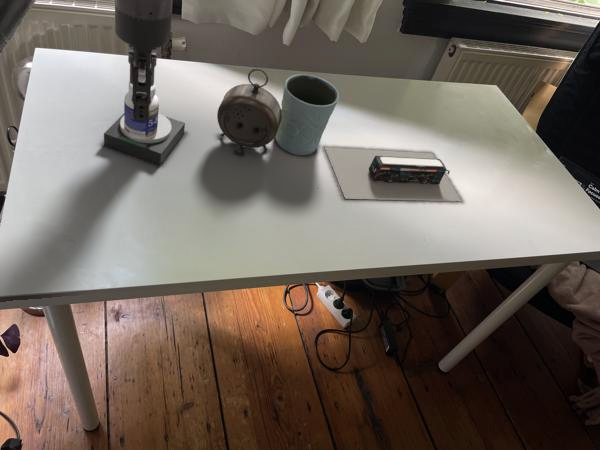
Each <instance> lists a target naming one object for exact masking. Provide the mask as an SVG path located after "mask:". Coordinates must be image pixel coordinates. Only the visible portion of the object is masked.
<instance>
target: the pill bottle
mask: <svg viewBox="0 0 600 450" xmlns="http://www.w3.org/2000/svg"><path fill="white" fill-rule="evenodd" d="M138 79H139V78H138ZM145 80H146V78H145ZM156 88H157V86H156V83H155V82H154V85H153V86H151V92H150V97H151V103H150V106H149V119H148V121H147V122H143V121H135V120H134V104H133V101H132V95H133V85H132V84H131V83H130V80H129V81H128V92H126V93H125V95H124V98H123V99H124V100H123V103H124V106H123V108H124V111H123V114H124V129H125V132H126V133H127V134H128V135H129V136H130V137H132V138H135V139H141V140H145V139H150V138H152V137H154V136H155V135H156V133H157V128H158V113H159V109H160V100H159V97H158V96H157V95H156V93H157V91H156ZM136 93H143V94H147V93H145V92H136Z"/></svg>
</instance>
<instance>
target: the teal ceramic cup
mask: <svg viewBox="0 0 600 450" xmlns="http://www.w3.org/2000/svg"><path fill="white" fill-rule="evenodd" d="M339 99H340V93H339V91H338V90H337V88H336V87H335V86H334V85H333V84H332V83H331V82H330V81H328V80H326V79H324V78H322V77H319V76H317V75H313V74H310V73H309V74H308V73H297V74H293V75H291V76H289V77H288V78H286V80H285V81H284V87H283V93H282V99H281V105H280V106H281V112H282V119H281V123H280V126H279V128H278V131H277V134H276V136H275V141H276V142H277V145H278V146H279V147H280V148H281V149H282V150H284V151H286V152H287V153H289V154H293V155H297V156H307V155H312V154H313V153H314V152H316V151H317V149H318V146H319V144H320V142H321V140H322V137H323V134H324V132H325V130H326V129H327V125H328V123H329V120H330V118H331V117H332V114H333V113H334V111H335V108H336V106H337V104H338V102H339Z"/></svg>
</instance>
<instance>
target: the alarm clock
mask: <svg viewBox="0 0 600 450" xmlns="http://www.w3.org/2000/svg"><path fill="white" fill-rule="evenodd" d="M256 71H257V72H258V71H259V72H262V73H263V74H264V76H265V78H266V81H265V83H264V84H262V85H260V84H259V83H258V82H255V83H253V82H252V80H251V74H252V73H253V72H256ZM247 80H248V82H249V83H243V84H237V85H235V86H233V87H231V88H230V89H229V90H228V91H226V93H225V94H224V96H223V99H222V101H221V103H220V104H219V107H218V109H217V114H216V118H217V123H218V126H219V129H220V130H221V132H222V133H220V137H222V138H223V137H226V138H228V139H229V141H231V142H232V143H234V144H236V145H238V149H237V153H238V154H242V152H243V148H249V149H257V148H263V150H264V152H267V151H268V147H267V145H269V144H270V143H271V142H272V141H273V140H274V139H275V138H276V134H277V131H278V128H279V126H280V123H281V119H282V112H281V109H282V107H281V105H280V103H279V101H278V100H277V98H276V97H275V96H274V94H272V93H271V92H270V91H268V90H267V89H266V88H264V86H266V85H267V84H268V82H269V76H268V74H267V73H266V71H265V70H263V69H262V68H258V67H257V68H252V69H251V70H250V71H249V72H248V74H247Z"/></svg>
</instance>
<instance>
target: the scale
mask: <svg viewBox="0 0 600 450" xmlns="http://www.w3.org/2000/svg"><path fill="white" fill-rule="evenodd" d="M185 127H186V123H185V122H182V121H180V120H177V119H175V118H172V117H169V116H167V115H164V114H162V113H160V112H158V128H157V133H156V135H155V136H154V137H152V138H150V139H145V140H141V139H135V138H132V137H130V136H129V135H128V134H127V133H126V132H125V129H124V113H122V115H121V116H119V118H118V119H116V120H115V121H114V123H113V124H112V125H111V126H110V127H109V128H108V129H107V130H106V131H104V133H103V143H104V146H106V147H109V148H111V149H114V150H116V151H117V150H118V151H121V152H123V153H125V154H129V155H132V156H135V157H138V158H140V159H142V160H146V161H148V162H151V163H154V164H157V165H162V164H163V162H164V161H165V159H166V158H167V157H168V155H169V154H170V153H171V152H172V151H173V149H174V148H175V146H177V144H178V142H179V141H180V139H182V137H183V136H184V135H185Z"/></svg>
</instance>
